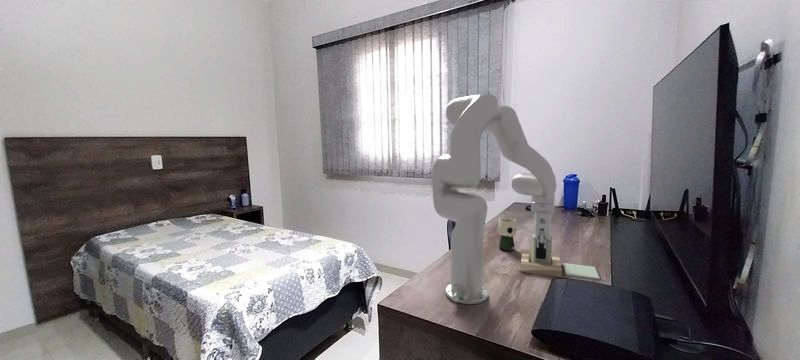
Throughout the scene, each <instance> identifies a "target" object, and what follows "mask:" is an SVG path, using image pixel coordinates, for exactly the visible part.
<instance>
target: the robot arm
mask: <svg viewBox="0 0 800 360" xmlns="http://www.w3.org/2000/svg"><path fill="white" fill-rule="evenodd" d="M445 110H446V111H445V116H446V118H447V120H448V122H449V123H450V124H451V125H453V128H452V130H451V133H450V137H449V154H444V155H441V156H440V157H438V158H437V159H436V160H435V161H434V163H433V165H432V169H431V183H432V184H431V185H432V200H433V207H434V208H433V209H434V210H435V213H436V214H437V215H438V216H439V217H442V218H443V219H445V220H450V221H452V222H455V226H454V228H453V229H452V232H451V236H450V284H448V285H446V288H445V295H446V296H447V297H448V298H449V299H450V300H452V301H453V302H455V303H459V304H465V305H476V304H480V303H483V302H485V301H486V300H487V299H488V297H489V292H488V290H487V288H485V286H484V285H483V283H484V282H483V280H484V279H483V278H484V271H483V270H484V234H485V233H484V232H485V225H486V220H487V215H488V204H487V201H486V199H485V198H484V197H482V196H481V195H480V194H477V193H475V192H470V191H464V190H458V188H463V189H470V188H474V187H476V186H478V185H479V183H480V181H481V177H482V176H481V175H482V171H481V170H482V167H481V166H482V165H481V137H482V135H491V134H492V135H493V137H494V139H495V142H496V143H497V145H498V148H499V150H500V153H501V155H502V157H504V158H505V159H506V160H508V161H510V162H511V163H514V164H516V165H518V166H519V167H523V168H524V169H526V170H527V171H529V172H530V173H529V172H523V173H522V172H521V173H517V174H516V175H515V176H513V178H512V180H511V183H510V185H511V189H512V190H513V192H515V193H516V194H519V195H523V196H524V195H525V196H529V197H530V196H531V198H530V199H531V203H530V211H532V212H533V213H534V218H533V220H534V221H533V222H534V223H533V224H534V228H533V229H534V234H535V238H536V239H537V247H536V258H538V259H546V239H547V240H548V241H550V236H551V229H552V227H551V226H552V215H551V214H553V213H554V212H555V199H556V197H555V194H556V190H557V180H556V175H555V173H554V170H553V168H552V165H551V164H550V163H549V161H548V160H547V159H546V158H545V157H544V156H543V155H541V153H539V151H537V150H535V149H534V148H533V147H532V146H530V145H529V142H528V140H527V137H526V135H525V133H524V130H523V127H522V124H521V122H520V120H519V117H518V115H517V113H516V111H515V109H514V108H513V107H511V106H509V105H499V101H498V98H497V97H496V96H495V95H494V94H491V93H487V92H486V93H477V94H473V95H469V96H463V97H458V98H454V99H453V100H451V101H450V102H449V103H448V104H447V105H446V109H445ZM539 237H540V239H539ZM544 238H545V240H544ZM539 241H540V242H539Z"/></svg>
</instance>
